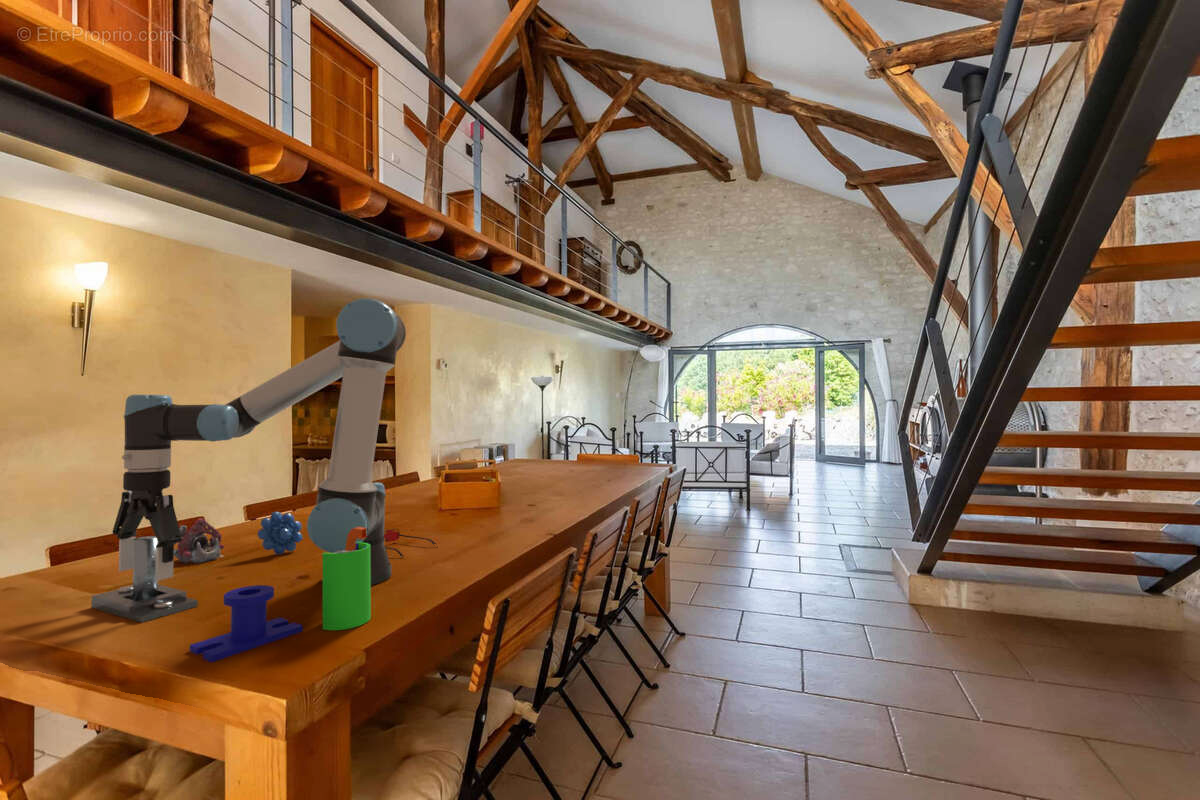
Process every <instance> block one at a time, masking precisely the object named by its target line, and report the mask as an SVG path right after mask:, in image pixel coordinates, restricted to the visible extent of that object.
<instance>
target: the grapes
mask: <svg viewBox="0 0 1200 800" xmlns="http://www.w3.org/2000/svg"><path fill="white" fill-rule="evenodd" d="M260 526H261V527H262V528H260V529H259V530H258V531H257V535H256V536H258V538H259V540H262V544H261V545H262V547H263V549H265V550H266V551H270V550H273V552H274V553H275V554H276V555H282V554H284V553H285V552H286V551H287V552H293V551H295V550H296V548H297V544H296V543H300V542H301V541H302V540H303V538H304V537H303V534H302V533H301V532H300V531H302V529H303V526H302V523H301V522H300V521H298V520H295V517H294V515H293V514H292V513H290V512H286V513H284V514H282V513H281V512H279V511H274V512H272V513H271V514H270V517H264V518H262V519H261V521H260Z"/></svg>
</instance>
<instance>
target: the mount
mask: <svg viewBox="0 0 1200 800" xmlns="http://www.w3.org/2000/svg"><path fill="white" fill-rule="evenodd" d="M274 597H275V588H274V587H273V586H271V585H266V584H265V585H263V584H262V585H261V584H259V585H257V584H256V585H249V586H243V587H237V588H234V589H232V590H229V591H227V592H225V593H224V594H223V605H224V606H226V607H230V609H231V610H230V611H231V612H230V615H231V616H230V632H228V633H224V634H221V635H218V636H215V637H211V638H209V639H208V638H207V639H205V640H201V641H198V642H195V643H191V644H189V652H190V651H191V653H192V652H193V653H192V654H194V653H195V654H194V655H196V654H197V655H196V656H199V655H198V654H200V655H202V659H204V660H205V661H207V660H208V661H207V662H209V663H213V662H216V661H219V660H222V659H225V658H229V657H231V656H234V655H237V654H241V653H242V652H247V651H249V650H251V649H254V648H257V647H260V646H263V645H266V644H271V643H272V642H276V641H278V640H281V639H284V638H287V637H289V636H292V635H296V634H299V633H301V632H303V628H304V627H303V624H300V623H297V622H291V623H289V619H286V618H284V617H281V616H280V617H279V616H278V617H277V618H274V619H270V620H267V605H268V604H267V602H268V601H270V600H272V599H273V598H274ZM201 653H203V654H201Z"/></svg>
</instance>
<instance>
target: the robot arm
mask: <svg viewBox="0 0 1200 800" xmlns="http://www.w3.org/2000/svg"><path fill="white" fill-rule="evenodd" d="M335 323H336V324H335V325H336V332H337V336H338V338H339V340H338V341H336V342H334V343H332V344H331V345H329V346H328V347H326V348H323V349H322V350H320V351H318V352H317V353H315V354H313V355H311V356H309V357H308V358H306V359H304V360H301V362H298V363H297V364H296V365H295V364H294V365H293V366H292V367H290V368H288V369H286V370H285V371H283V372H281V373H279V374H278V375H276V376H274V377H272V378H270V379H269V380H267V381H265V382H263V383H261V384H260V385H258V386H256V387H254V388H252V389H251V390H249V391H247V392H245V393H243V394H242V395H240V396H238V397H237V398H234V399H233V400H231V401H229V402H227V403H225V404H221V403H219V404H218V403H217V404H216V403H212V404H176V403H174V402H173V398H172V397H171V396H170V395H168V394H167V395H166V394H131V395H129V396H128V397H126V399H125V407H124V408H125V409H124V414H123V419H124V445H123V447H124V449H123V450H124V451H123V452H124V453H123V455H122V456H121V458H122V460H123V468H124V469H125V470H126V471H125V472H124V473H123V480H122V483H123V484H122V488H123V490H124V491H122V492H121V502H120V505H119V509H118V512H117V516H116V518H115V522H114V526H113V528H112V534H113V535H117V536H116V537H117V539H119V541H118V543H119V544H118V572H124V571H128V570H133V554H134V539H136V538H137V536H138V533H137V530H138V528H139V526H140V524H141V522H142V520H143V519H145V520H147V521H149V523H150V525H151V528H152V531H153V534H154V536H156V538H157V540H158V544H157V545H156V580H158V581H162V580H167V579H170V578H173V577H174V561H175V559H174V558H175V556H174V549H175V547H174V546H175V545H176V544H178V543H179V542H181V541H182V537H181V533H180V530H179V529H180V525H179V522H178V518H177V515H176V510H175V506H174V496H173V494H167V495H166V494H165V495H164V493H163V491H164V489H168V488H169V487H170V486H171V471H170V470H169V469H168V468H171V465H172V463H171V462H172V441H174V442H175V441H176V442H177V441H188V442H189V441H191V442H193V441H196V442H198V441H199V442H201V441H202V442H205V441H206V442H221V441H230V440H233V438H234V439H235V438H236V439H238V438H241V437H245V436H246V435H248V434H250V433H253V432H252V431H254V429H255V428H256V427H257V426H258V425H260V424H262V423H263V422H265V421H267V420H269V419H270V418H272V417H273V416H276V415H277V414H279V413H282V412H284V411H285V410H286V409H288V408H290V407H292V406H294V405H295V404H297V403H298V402H301V401H302V400H304V399H305V398H307V397H309V396H312V395H313V394H314V393H316V392H318V391H320V390H322V389H324V388H326V387H327V386H329V385H331V384H332V383H334V382H335V381H338V380H339V379H341V378H342V379H341V386H340V392H339V399H338V407H337V414H336V421H335V426H334V427H335V428H334V435H333V441H332V447H331V455H330V461H329V468H328V475H327V478H326V479H324V480H323V481H321V482H320V483H319V485H318V490H317V494H316V495H317V496H316V501H315V502H316V503H315V506H314V507H313V508H312V510H311V512H310V513H309V516H308V518H307V522H306V530H307V534H308V537H309V539H310V540H311V542H312V543H313V544H314V545H315V546H316V547H317V548H319V549H321V550H322V551H324V552H326V553H333V552H337V551H343V550H345V548H346V542H347V537H348V534H349V532H350V530H352V529H354V528H356V527H364V528H366V538H364V539H356V542H364V543H368V544H370V561H371V586H372V585H376V584H379V583H382V582H385V581H387V580H388V579H390V578H391V577H392V563H391V562H390V560H389V559H390V558H389V555H388V552H387V549H386V548H385V547H386V546H385V538H384V534H385V532H384V531H385V516H386V515H385V513H386V512H385V510H386V508H385V507H386V506H385V505H386V504H385V503H386V502H385V501H386V490H385V489H386V488H385V485H384V483H382V482H373V481H372V476H373V475H372V474H373V467H374V461H375V453H376V446H377V440H378V432H379V425H380V418H381V411H382V404H383V397H384V391H385V383H386V376H387V373H388V372H389V371H390V370H391V369H393V368H394V367H395V364H396V358H397V353H398V351H399V350H401V348H402V347H403V345H404V343H405V341H406V333H407V331H406V326H405V323H404V322H403V320H402V318H401V317H400V316H399V315H398V314H397V313H396V312H395V311H394V310H393V309H392V307H391V306H389V305H388V304H386V303H385V302H383V301H381V300H377V299H374V298H365V297H364V298H363V297H362V298H358V299H355V300H352V301H350V302H348V303H347V304H346V305H344V306H343V308H341V310H340V312H339V313H338V316H337V318H336V322H335ZM390 576H391V577H390Z"/></svg>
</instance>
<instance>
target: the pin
mask: <svg viewBox="0 0 1200 800" xmlns="http://www.w3.org/2000/svg"><path fill="white" fill-rule="evenodd" d="M157 544H158V540H157V538H156V536H155V535H150V536H149V535H148V536H140V537H136V539H134V554H133V569H132V585H133V598H132V600H134V601H140V600H144V599H148V598H152V597H155V596H158V585H159V580H156V545H157Z"/></svg>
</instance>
